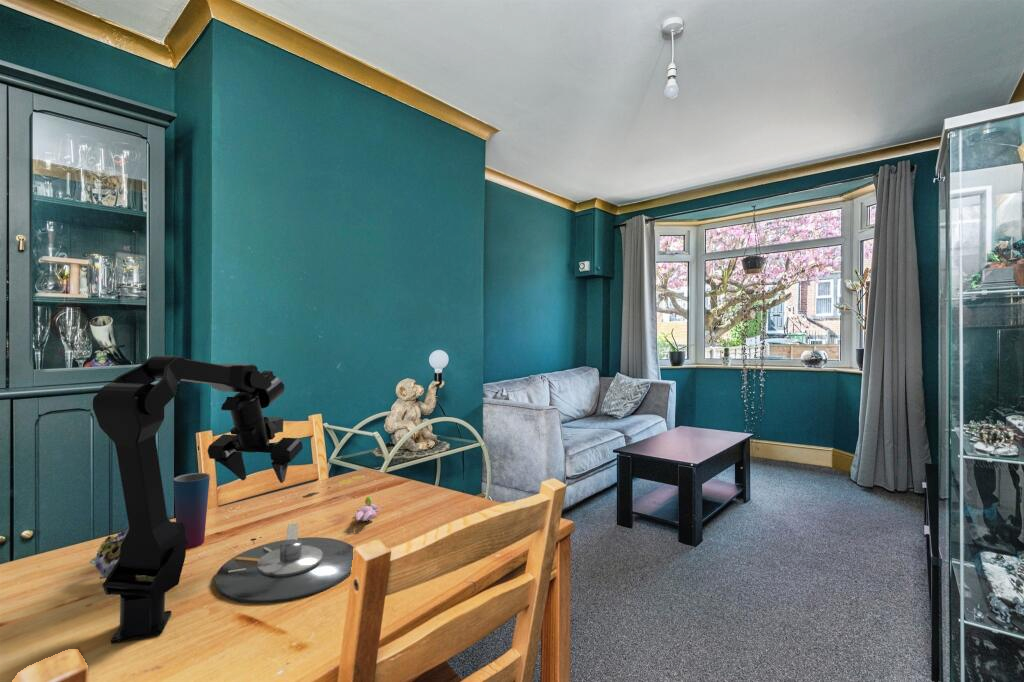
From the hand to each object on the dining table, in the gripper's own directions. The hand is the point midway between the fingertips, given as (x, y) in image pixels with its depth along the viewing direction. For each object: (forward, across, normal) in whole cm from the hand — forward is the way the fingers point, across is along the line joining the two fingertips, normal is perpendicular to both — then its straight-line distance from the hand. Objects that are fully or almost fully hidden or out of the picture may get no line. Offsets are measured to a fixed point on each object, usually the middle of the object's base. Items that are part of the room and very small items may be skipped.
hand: (263, 480), depth 109 cm
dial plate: (+10, -12, +14) cm, 21 cm away
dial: (+10, -11, +11) cm, 18 cm away
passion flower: (+8, +16, +21) cm, 27 cm away
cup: (+13, +16, +7) cm, 22 cm away
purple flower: (+21, -16, -12) cm, 29 cm away
